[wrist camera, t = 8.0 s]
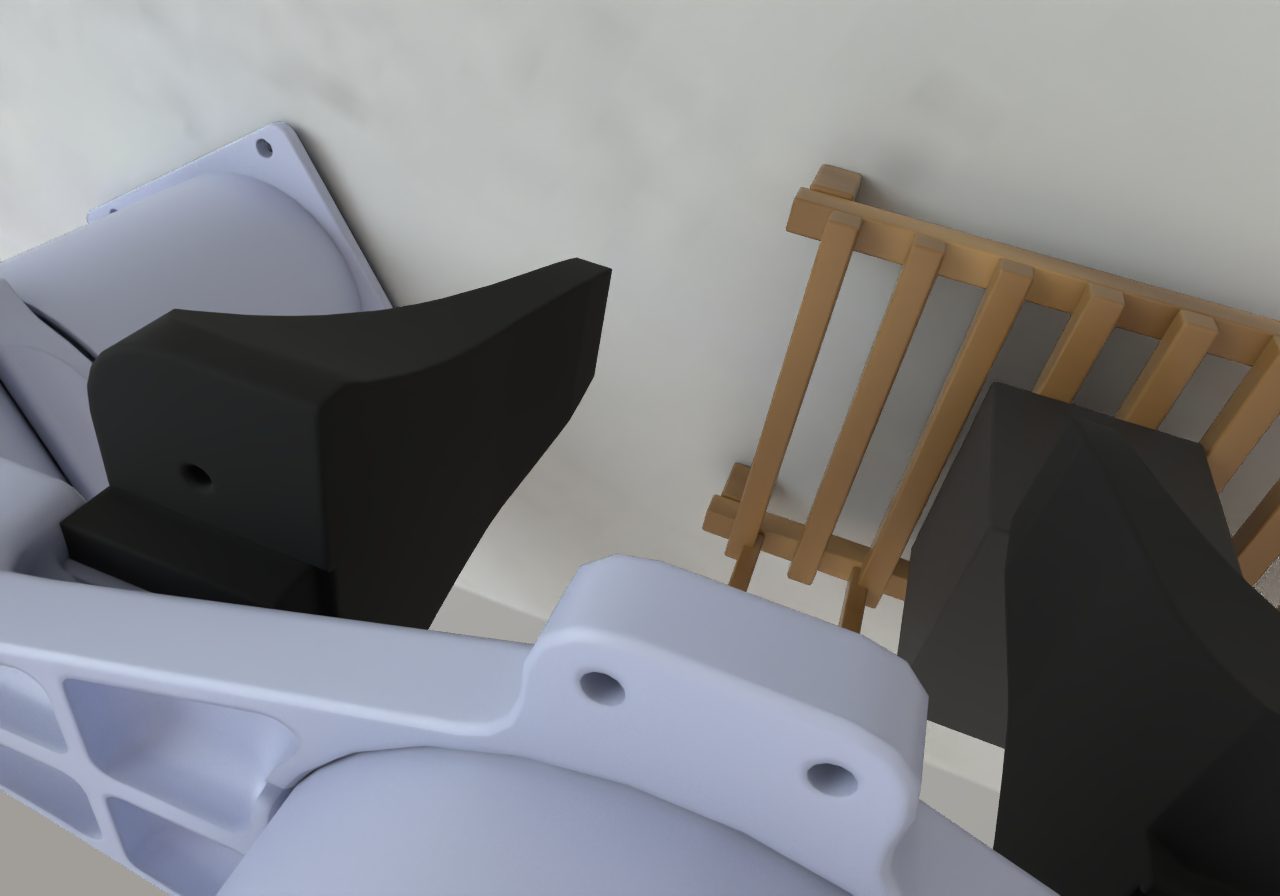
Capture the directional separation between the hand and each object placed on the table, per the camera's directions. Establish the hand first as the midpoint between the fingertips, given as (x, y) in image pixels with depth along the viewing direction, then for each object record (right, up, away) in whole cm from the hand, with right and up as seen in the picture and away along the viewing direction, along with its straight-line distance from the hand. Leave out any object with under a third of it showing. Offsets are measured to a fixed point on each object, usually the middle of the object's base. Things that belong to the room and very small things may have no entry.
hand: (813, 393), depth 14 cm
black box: (+7, -2, +7) cm, 10 cm away
